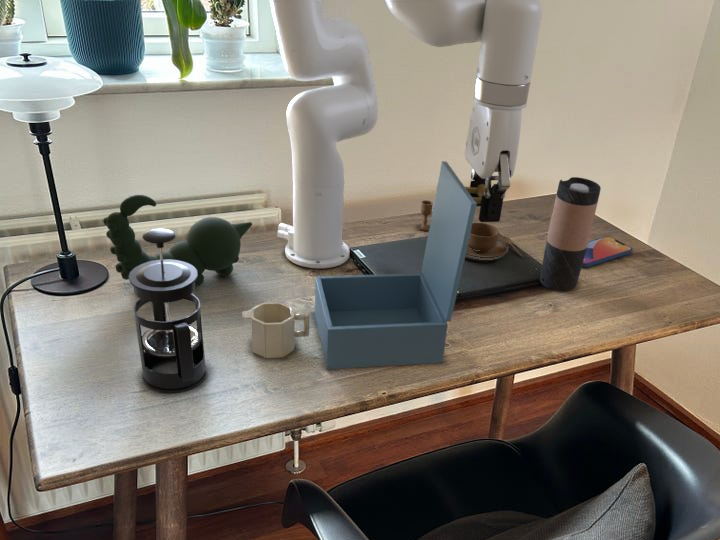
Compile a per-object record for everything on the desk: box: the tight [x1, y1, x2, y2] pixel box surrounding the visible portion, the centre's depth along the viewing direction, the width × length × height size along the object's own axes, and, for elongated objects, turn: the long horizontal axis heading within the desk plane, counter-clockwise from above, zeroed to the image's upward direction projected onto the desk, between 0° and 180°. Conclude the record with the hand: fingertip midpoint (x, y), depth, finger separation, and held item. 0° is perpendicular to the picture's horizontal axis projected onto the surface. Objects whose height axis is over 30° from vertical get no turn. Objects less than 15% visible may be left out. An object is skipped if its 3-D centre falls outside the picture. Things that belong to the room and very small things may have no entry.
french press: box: [128, 228, 208, 394], centre depth 103 cm, size 12×9×23 cm
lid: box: [421, 160, 485, 323], centre depth 116 cm, size 19×17×6 cm
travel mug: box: [539, 176, 602, 292], centre depth 138 cm, size 8×8×20 cm
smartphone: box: [582, 236, 633, 268], centre depth 155 cm, size 7×15×1 cm, turn 124°
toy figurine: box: [102, 194, 253, 287], centre depth 128 cm, size 9×19×25 cm
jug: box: [242, 301, 310, 359], centre depth 117 cm, size 10×7×6 cm, turn 102°
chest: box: [314, 272, 449, 370], centre depth 121 cm, size 19×17×7 cm
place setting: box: [417, 199, 524, 263], centre depth 154 cm, size 18×20×6 cm
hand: (483, 212), depth 114 cm, fingers closed on lid, 5 cm apart
